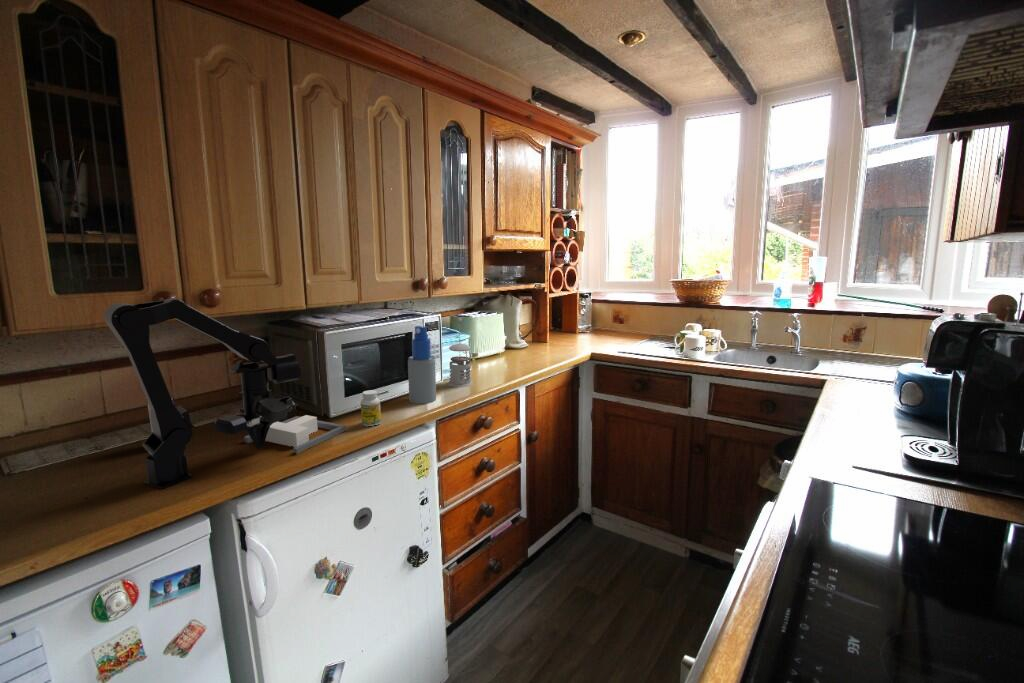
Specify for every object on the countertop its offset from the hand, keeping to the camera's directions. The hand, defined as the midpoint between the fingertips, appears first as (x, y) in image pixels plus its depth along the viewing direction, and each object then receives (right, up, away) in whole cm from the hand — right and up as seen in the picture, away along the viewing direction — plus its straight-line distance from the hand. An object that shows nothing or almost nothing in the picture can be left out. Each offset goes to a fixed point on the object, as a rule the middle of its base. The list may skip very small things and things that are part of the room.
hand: (260, 447), depth 121 cm
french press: (+44, +11, +62) cm, 77 cm away
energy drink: (-26, 0, +4) cm, 27 cm away
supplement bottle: (+22, +2, +20) cm, 30 cm away
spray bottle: (+33, +7, +42) cm, 54 cm away
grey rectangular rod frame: (+5, +1, +10) cm, 11 cm away
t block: (+5, +1, +10) cm, 11 cm away
